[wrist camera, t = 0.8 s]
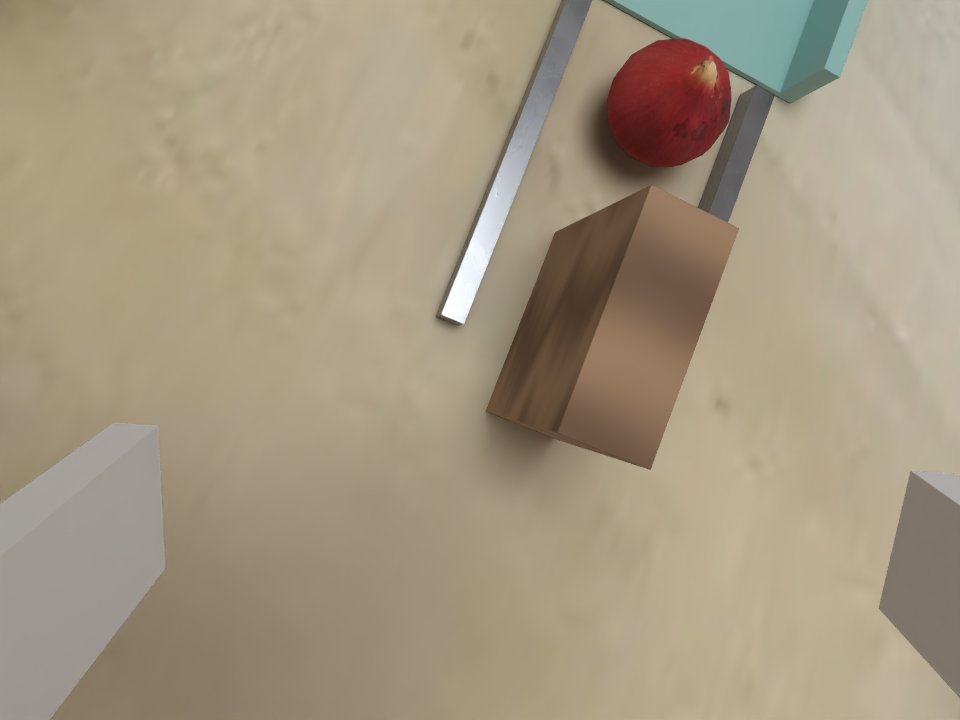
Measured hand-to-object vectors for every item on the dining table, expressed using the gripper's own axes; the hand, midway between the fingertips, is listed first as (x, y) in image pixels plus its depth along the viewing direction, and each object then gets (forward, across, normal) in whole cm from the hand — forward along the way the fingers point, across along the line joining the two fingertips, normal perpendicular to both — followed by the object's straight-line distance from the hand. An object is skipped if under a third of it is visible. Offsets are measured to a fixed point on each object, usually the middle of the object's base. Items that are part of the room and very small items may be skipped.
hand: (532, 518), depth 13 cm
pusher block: (+26, +3, -2) cm, 26 cm away
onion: (+30, +7, +8) cm, 32 cm away
